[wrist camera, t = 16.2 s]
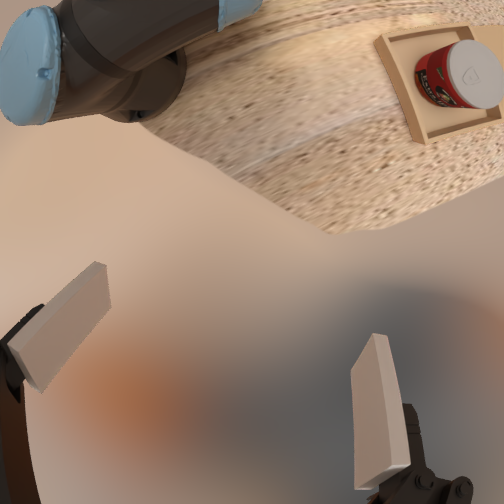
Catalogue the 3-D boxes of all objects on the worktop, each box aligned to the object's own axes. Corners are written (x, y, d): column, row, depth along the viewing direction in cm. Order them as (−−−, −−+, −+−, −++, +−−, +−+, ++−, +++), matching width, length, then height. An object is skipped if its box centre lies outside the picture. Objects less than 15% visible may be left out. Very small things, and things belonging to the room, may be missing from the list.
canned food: (402, 78, 28) (436, 67, 19) (432, 42, 25) (470, 25, 15) (442, 119, 29) (484, 125, 20) (470, 83, 26) (515, 81, 16)
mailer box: (413, 141, 32) (425, 144, 28) (373, 42, 28) (381, 34, 24) (541, 107, 23) (558, 109, 19) (513, 25, 18) (528, 21, 14)
